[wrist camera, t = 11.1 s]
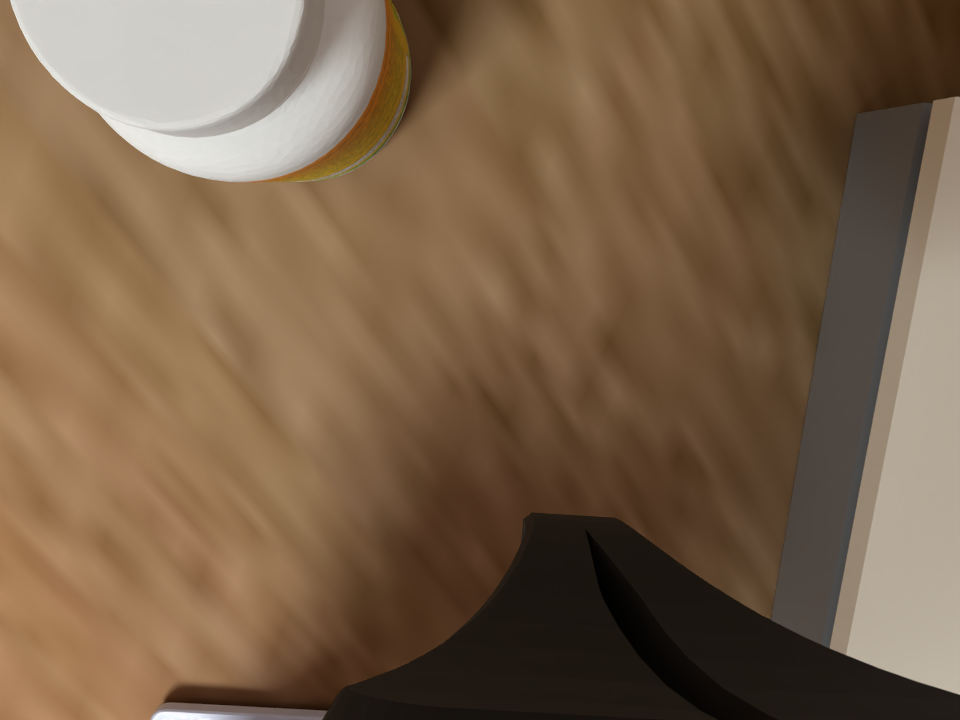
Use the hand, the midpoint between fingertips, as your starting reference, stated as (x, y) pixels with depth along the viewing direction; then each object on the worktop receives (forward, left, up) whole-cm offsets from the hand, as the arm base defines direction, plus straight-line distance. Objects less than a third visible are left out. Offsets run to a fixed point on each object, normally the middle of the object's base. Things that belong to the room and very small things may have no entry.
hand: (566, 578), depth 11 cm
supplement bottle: (+8, +6, -11) cm, 15 cm away
